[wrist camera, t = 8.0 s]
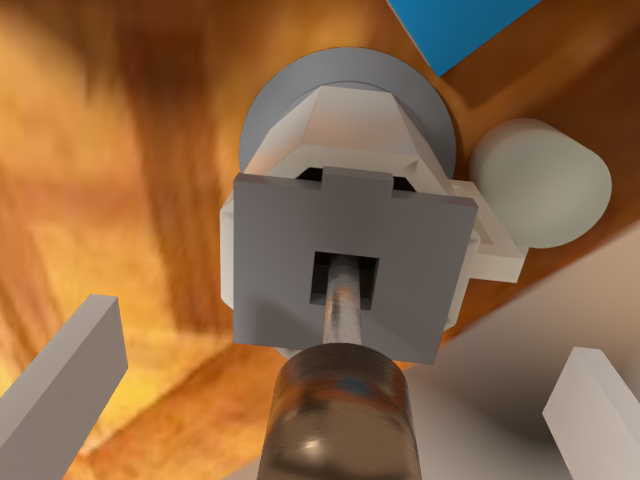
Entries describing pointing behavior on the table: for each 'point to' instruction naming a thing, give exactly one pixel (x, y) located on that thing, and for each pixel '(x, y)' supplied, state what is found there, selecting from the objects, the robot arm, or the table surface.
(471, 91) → the table surface
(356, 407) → the plunger
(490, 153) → the espresso cup
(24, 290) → the table surface
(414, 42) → the book
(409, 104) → the disc
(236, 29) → the table surface
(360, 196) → the cafetiere
